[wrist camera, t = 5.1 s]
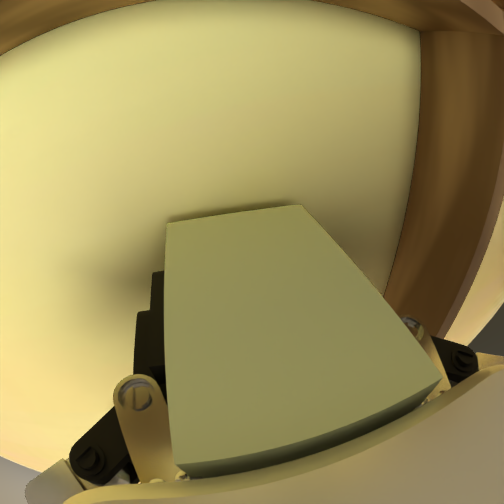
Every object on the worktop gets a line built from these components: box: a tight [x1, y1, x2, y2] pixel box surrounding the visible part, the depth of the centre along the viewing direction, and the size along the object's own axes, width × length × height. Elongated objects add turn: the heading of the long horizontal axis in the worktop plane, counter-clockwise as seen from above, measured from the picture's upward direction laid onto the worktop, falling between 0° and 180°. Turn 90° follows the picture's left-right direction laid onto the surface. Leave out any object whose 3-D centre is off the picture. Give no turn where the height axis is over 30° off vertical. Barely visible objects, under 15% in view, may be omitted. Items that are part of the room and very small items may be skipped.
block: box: [164, 204, 443, 479], centre depth 8 cm, size 5×5×8 cm
